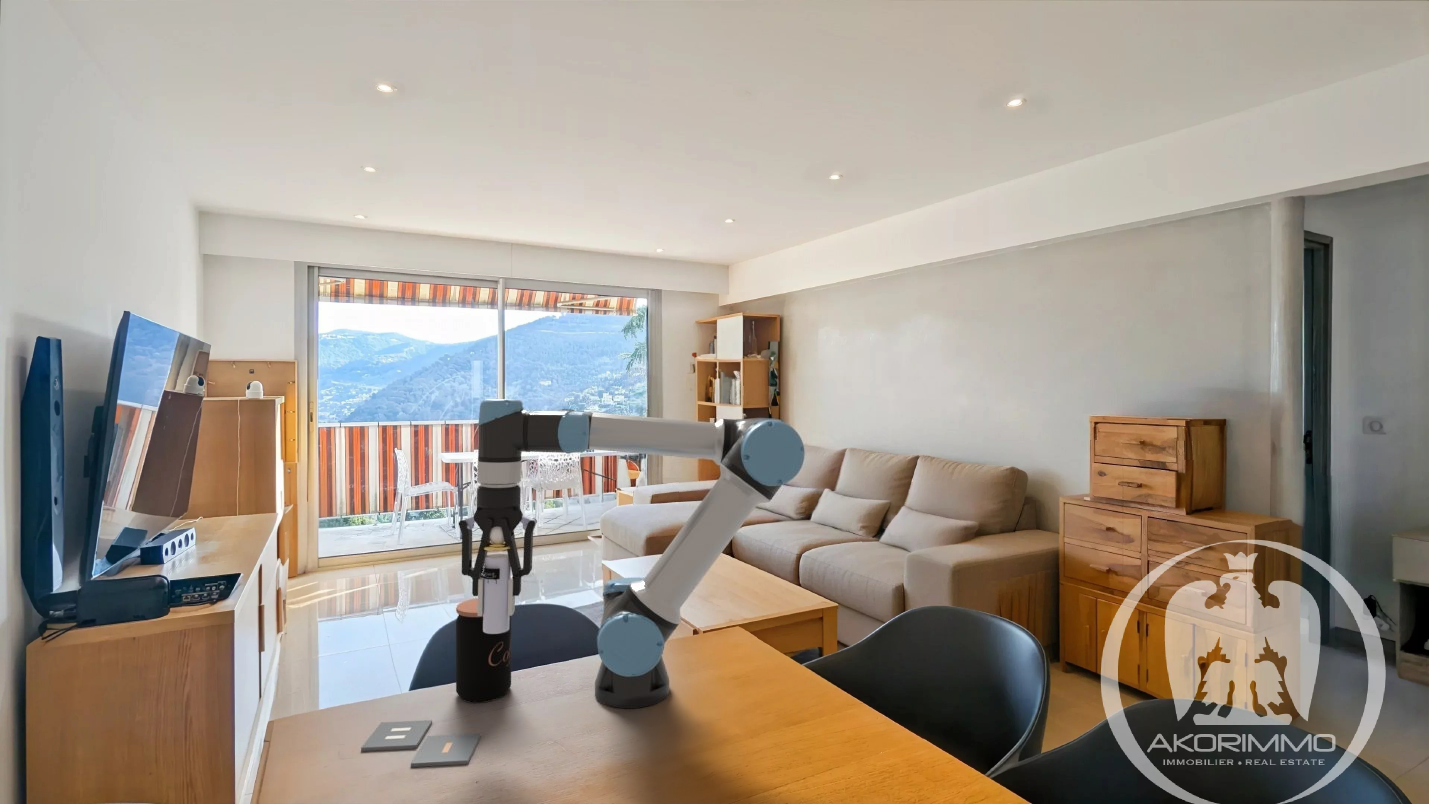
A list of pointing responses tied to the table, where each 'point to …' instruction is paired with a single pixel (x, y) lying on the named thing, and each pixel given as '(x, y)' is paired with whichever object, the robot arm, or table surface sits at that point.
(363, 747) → the slate code tile
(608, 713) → the table surface
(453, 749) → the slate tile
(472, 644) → the coffee jar
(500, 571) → the perfume bottle
